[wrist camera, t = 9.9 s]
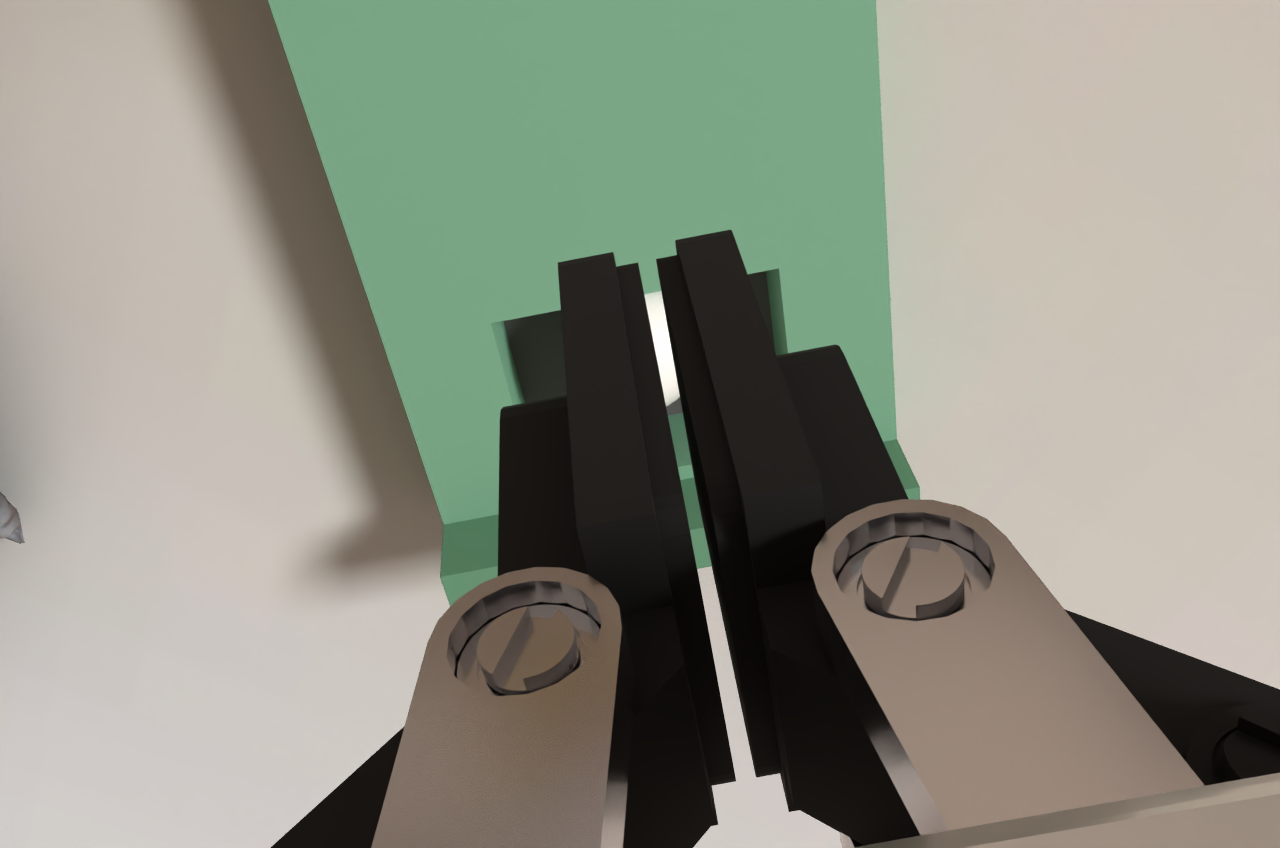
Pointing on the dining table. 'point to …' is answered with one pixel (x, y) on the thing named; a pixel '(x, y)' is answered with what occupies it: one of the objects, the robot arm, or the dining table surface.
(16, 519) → the lucky cat figurine
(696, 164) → the green
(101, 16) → the dining table surface
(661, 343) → the ball
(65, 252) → the dining table surface
